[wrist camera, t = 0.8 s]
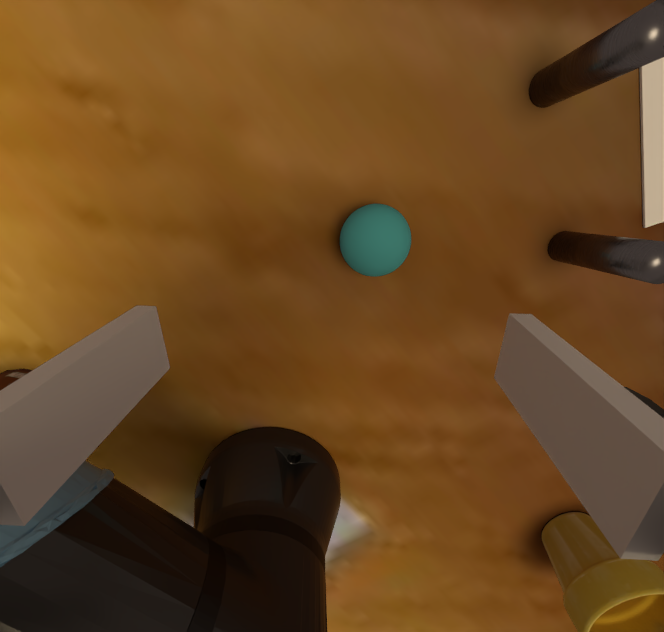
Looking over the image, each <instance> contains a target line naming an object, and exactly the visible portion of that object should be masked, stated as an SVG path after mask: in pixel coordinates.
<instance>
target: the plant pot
mask: <svg viewBox="0 0 664 632" xmlns="http://www.w3.org/2000/svg"><path fill="white" fill-rule="evenodd" d="M541 538H542V542H543V544H544V547H545V549H546V552H547V554H548V556H549V559H550V561H551V563H552V566H553V568H554V570H555V573H556V575H557V578H558V580H559V583H560V585H561V587H562V590H563V592H564V595H563V603H564V606H565V609H566V611H567V613H568V614H569V616H570V618H571V620H572V622H573V624H574V625H575V627H576V629H577V630H578V632H664V572H663V571H662V570H661V569H660V568H659V567H658V566H657V565H656V564H654V563H653V562H651V561H649V560H638V559H620V557H619V556H618V555H617V553H616V552H615V550H614V549H613V547H612V546H611V544H610V543H609V542H608V540H607V539H606V537H605V536H604V534H603V533H602V532H601V530H600V529H599V527H598V526H597V524H596V523H595V522H594V520H593V519H592V517H591V516H589V515H587V514H585V513H581V512H569V513H565V514H561V515H559V516H557V517H555V518H554V519H552V520H551V521H549V522H548V523H547V524H546V526H545V527H544V529H543V531H542V536H541Z"/></svg>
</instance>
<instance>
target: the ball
mask: <svg viewBox="0 0 664 632" xmlns="http://www.w3.org/2000/svg"><path fill="white" fill-rule="evenodd" d="M410 246H411V232H410V228H409V225H408V223H407V221H406V220H405V218H404V217H403V216H402V215H401V213H399V212H398V211H397V210H395V209H394V208H392V207H390V206H387V205H384V204H369V205H366V206H363V207H361V208H359V209H357V210H356V211H354V212H353V213H352V214H351V215H350V216H349V217H348V218H347V220H346V221H345V223H344V225H343V227H342V230H341V234H340V249H341V253H342V255H343V257H344V259H345V261H346V262H347V264H348V265H349V266H350V267H351V268H352V269H354V270H355V271H357V272H358V273H360V274H363V275H366V276H383V275H386V274H389V273H391V272H393V271H394V270H396V269H397V268H398V267H399V266H400V265H401V264H402V263H403V262H404V260H405V259H406V257H407V255H408V253H409V250H410Z"/></svg>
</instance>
